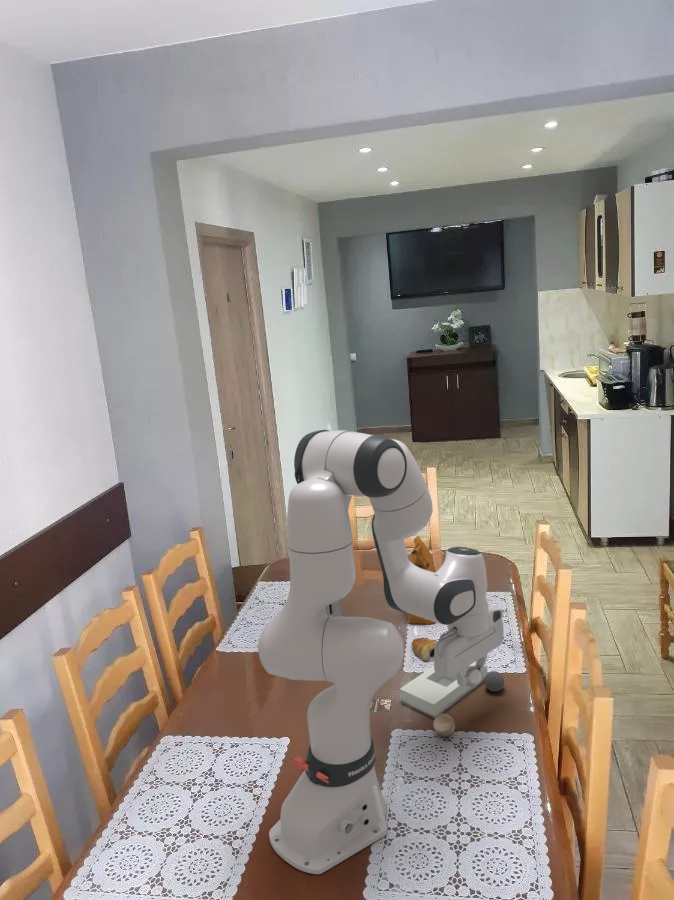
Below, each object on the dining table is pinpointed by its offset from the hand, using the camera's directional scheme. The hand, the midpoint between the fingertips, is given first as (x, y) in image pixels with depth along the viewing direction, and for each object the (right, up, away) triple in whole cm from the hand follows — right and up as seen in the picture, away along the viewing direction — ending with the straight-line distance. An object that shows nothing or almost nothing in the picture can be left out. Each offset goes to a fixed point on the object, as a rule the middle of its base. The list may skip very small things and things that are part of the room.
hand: (471, 678), depth 157 cm
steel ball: (0, 0, 0) cm, 0 cm away
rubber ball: (+7, -4, +10) cm, 13 cm away
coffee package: (-4, +2, +49) cm, 50 cm away
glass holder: (-32, 0, +50) cm, 59 cm away
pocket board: (-4, -7, +12) cm, 14 cm away
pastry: (-6, -3, +29) cm, 30 cm away
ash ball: (-6, -9, -4) cm, 11 cm away
